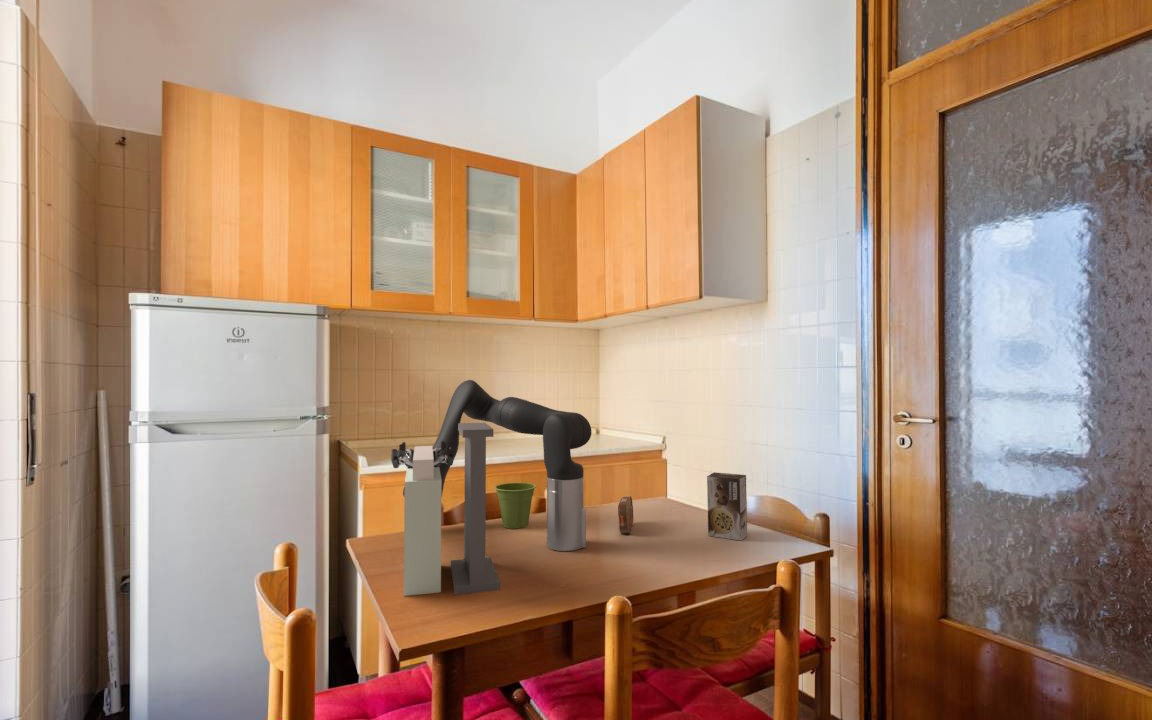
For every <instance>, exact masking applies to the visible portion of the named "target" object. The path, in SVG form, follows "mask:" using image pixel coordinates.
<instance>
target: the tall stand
mask: <svg viewBox="0 0 1152 720" xmlns="http://www.w3.org/2000/svg"><path fill="white" fill-rule="evenodd" d="M458 431H459V435H461V437H462V438H463V439H464V504H463V505H464V511H463V512H464V516H463V517H464V519H463V520H464V524H463V525H464V527H463V528H464V530H463V533H464V534H463V535H464V537H463V539H464V541H463V542H464V543H463V547H464V549H463V551H464V553H463V559H461V558H460V559H453V560H452V559H451V560H450V574H451V580H452V587H453V593H454V594H453V595H454V596H455V595H456V596H457V595H464V594H465V595H466V594H474V593H483V592H484V593H485V592H494V591H501V580H500V577H499V575H498V574H499V573H498V572H497V570H496V567H495V564H494V561H493V558H492V556H486V542H487V541H486V537H487V536H486V534H487V533H486V529H487V528H486V526H487V525H486V521H487V520H486V519H487V518H486V516H487V514H486V513H487V512H486V508H487V507H486V506H487V505H486V504H487V502H486V501H487V500H486V499H487V496H486V495H487V493H486V491H487V487H486V484H487V479H486V477H487V472H486V471H487V438H494V428H492V427H491V426H490V425H489V424H487V423H486V422H467V423H466V422H464V423H463V422H460V423H458Z"/></svg>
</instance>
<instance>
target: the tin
mask: <svg viewBox="0 0 1152 720" xmlns="http://www.w3.org/2000/svg"><path fill="white" fill-rule="evenodd" d="M633 504H634V503H633V498H632V496H622V497H621V499H620V501H619V502H618V506H617V516H618V523H619V524H618V530H619V533H620V534H629V535H630V534H631V532H632V529H633V526H634V507H633Z"/></svg>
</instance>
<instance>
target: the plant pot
mask: <svg viewBox="0 0 1152 720" xmlns="http://www.w3.org/2000/svg"><path fill="white" fill-rule="evenodd" d="M536 488H537V486H536V484H534V483H528V482H508V483H500V484H497V485H495V486H494V489H495V491H496V496H497V499H498V504H499V509H500V516H501V522H502V526H503V528H504V529H505V528H506V529H512V530H516V529H518V528H521V529H523V528H526V527H528V526H529V522H530V515H531V507H532V502H533V501H532V500H533V497H534V492H535V489H536Z"/></svg>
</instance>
